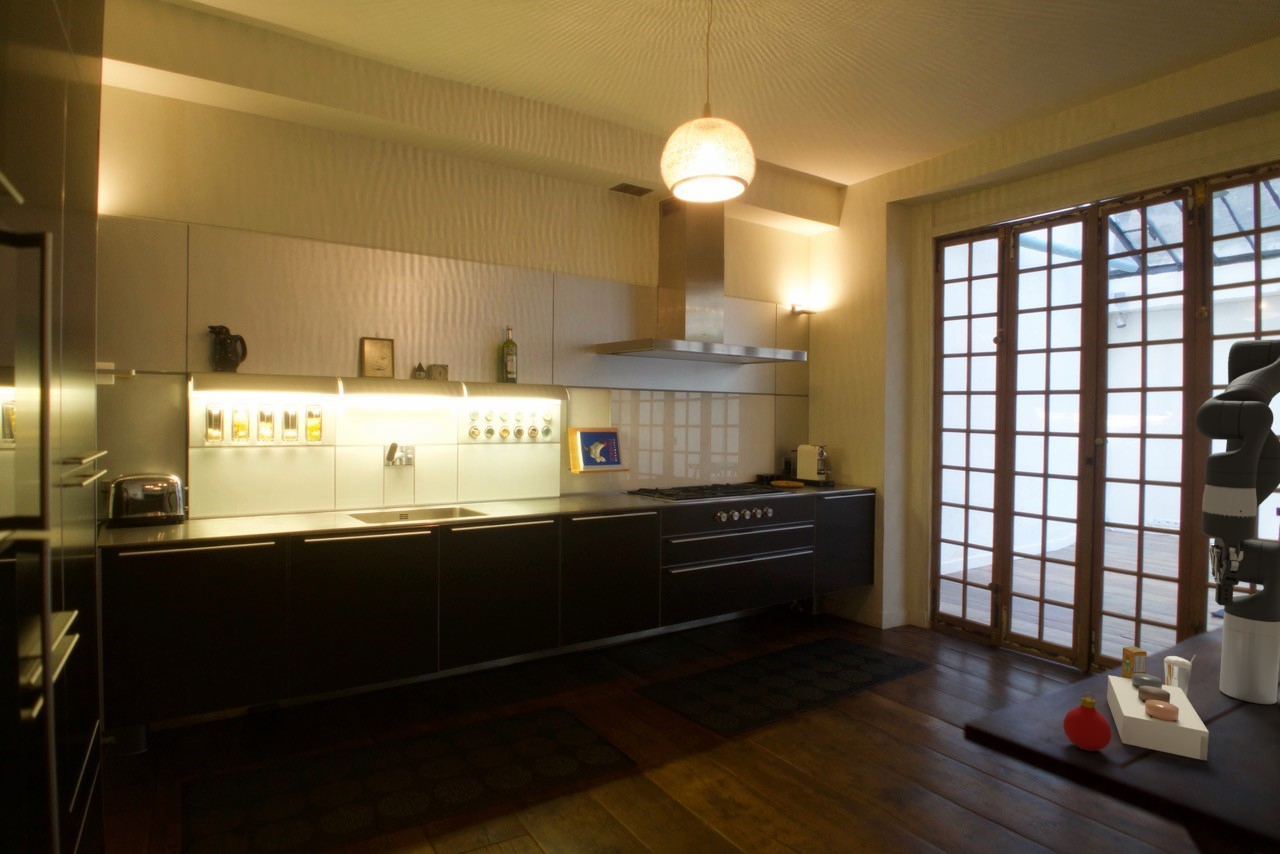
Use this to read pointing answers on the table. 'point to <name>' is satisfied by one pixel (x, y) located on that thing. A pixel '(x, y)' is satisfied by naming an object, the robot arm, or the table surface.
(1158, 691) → the walnut knob
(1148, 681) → the charcoal knob
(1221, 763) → the table surface
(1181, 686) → the milkshake
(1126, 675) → the supplement box
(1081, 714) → the christmas ornament
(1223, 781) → the table surface
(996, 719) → the table surface
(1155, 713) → the terracotta knob
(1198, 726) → the knob console
